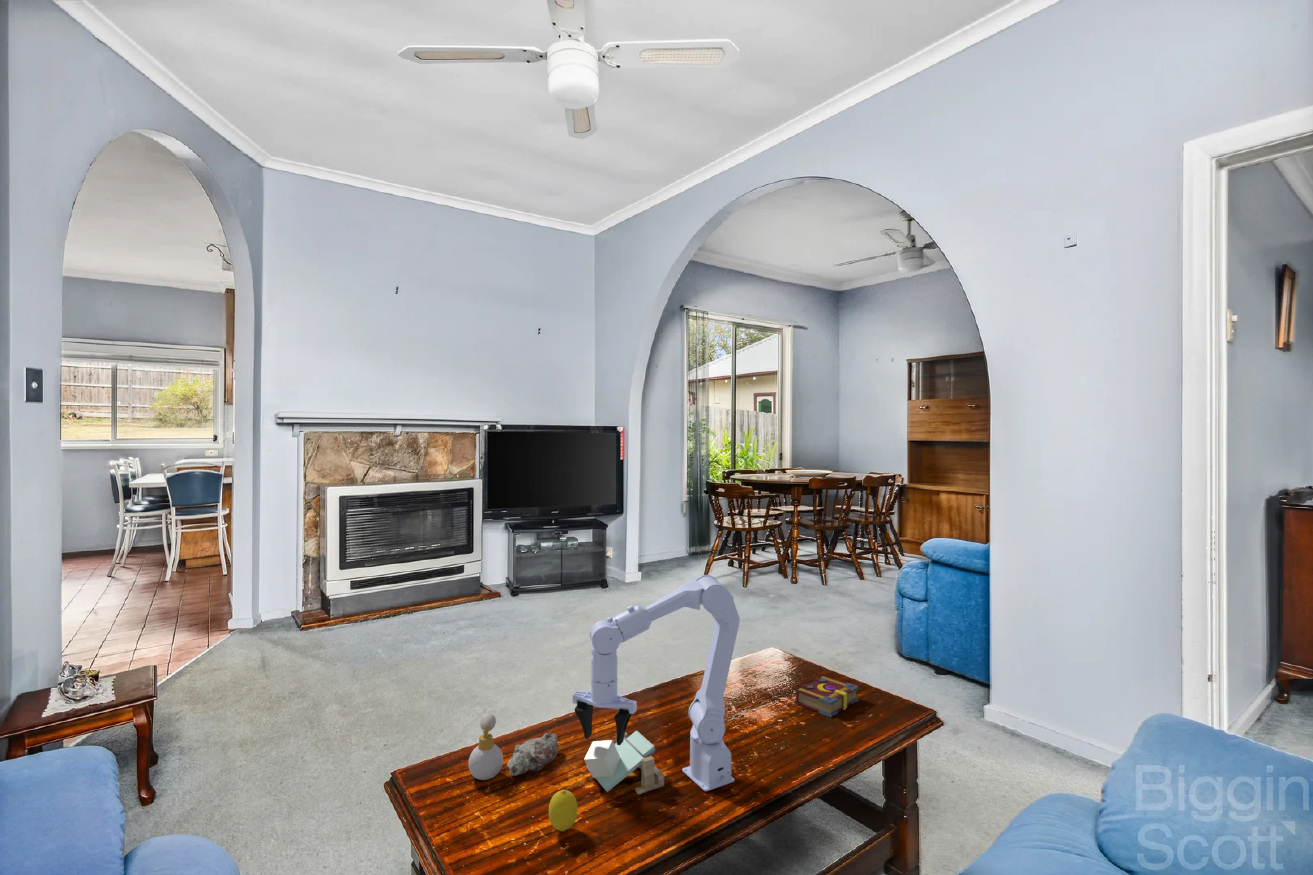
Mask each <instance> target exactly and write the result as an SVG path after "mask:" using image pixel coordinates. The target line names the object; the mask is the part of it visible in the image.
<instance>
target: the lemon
mask: <svg viewBox="0 0 1313 875" xmlns="http://www.w3.org/2000/svg"><path fill="white" fill-rule="evenodd" d="M577 818H578V803H577V799H576V797H575V795H574V793H572V792H571V791H569V790H568V789H561V790H559V791H557V792H556V793H554V794H553V795H552V797H551V799H550V801H549V805H548V820H549V821H550V825H551V826H552V827H553V828H554V829H556V831H557V830H558V831H560V832H565V831H567V830H570V828H571V827H573V826H574V824H575V822H576V821H577Z"/></svg>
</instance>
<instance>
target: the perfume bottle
mask: <svg viewBox="0 0 1313 875" xmlns="http://www.w3.org/2000/svg"><path fill="white" fill-rule="evenodd" d="M496 724H497V718H496V716H495V715H494V714H493V713H491V712H488V713H485V714H483V716H482V717H481V718H480V722H479V726H480V729H481V730H482V733H483V734H481V735H480V736H479V738H478V739H479V740H478V745H477V746H476V747H474V748H473V750H472V751H471V753H470V755H469V758H468V770H469V772H470V774H471V776H472V777H474V778H475V779H477V780H480V781H487V780H490V779H493V778H494V777H496V776H497V775H498V774H499V773H500V771H501V770H502V767H503V764H504V754H503V752H502V750H501V748H500V747H499V746H498V745H497V744H495V743H494V740H493V738H494V736H493V735H492V734H491V733H489V732H490V731H492V730H493V729H494V728H495V726H496Z"/></svg>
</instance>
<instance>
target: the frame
mask: <svg viewBox="0 0 1313 875" xmlns="http://www.w3.org/2000/svg"><path fill="white" fill-rule="evenodd" d="M624 737H625V738H628V737H629V735H628V733H627V732H626V731H625V735H624ZM616 739H617V733H615V744H616V743H617V741H616ZM638 768H639V769H640V770H641V775H640V776H641V779H640V780H641V783H640V784H641V786H638V787H635V789H634V791H635V792H636V794H637V795H641V794H644V793H647V792H649V791H653V790H656V789H659V788H662V787H665V774H664V773H663V772H662V771H661V770H660V769H659V768H658V767H657V766H656V765H655V758H654V757H653V756H652V755H651V756H646V758H643V759H642V764H641V765H640V766H639V767H638Z"/></svg>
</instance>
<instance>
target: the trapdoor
mask: <svg viewBox="0 0 1313 875" xmlns="http://www.w3.org/2000/svg"><path fill="white" fill-rule="evenodd" d="M614 745H615V747H616V749H617V751H618V753H619V756H620V760H619V763H618V765H617V768H616V770H615V772H614V775H613V777H594V778H595V780H596V781H597V782H598V783H599V784H600V785H601V787H602V788H603V789H604V791H605V792H606V793H608V792H609V791H611V790H612V789H613V788H615V787H616V786H617V785H618V784H619V783H620V782H622V781H623V780H624V779H625V778H627V776H629V775H630V774H631V773H632V772H634V771H635V770H636V769H637V768H639V766H640V765H641V764H642V759H643V758H646V757H649V756H652V755H653V754H655V752H656V748H655V746H654V744H652V743H651V742H650V741H649V740H648V739H647V738H646V737H645V736H644V735H643V734H641V733H640V732H639V731H638V730H635V731H634V732H633V733H632V734H630V735H628V738H625V737H624V741H623V742H622V744H621V745H617V743H616V742H615V743H614ZM586 768H587V770H588V771H589V769H588V767H587V765H586Z"/></svg>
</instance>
